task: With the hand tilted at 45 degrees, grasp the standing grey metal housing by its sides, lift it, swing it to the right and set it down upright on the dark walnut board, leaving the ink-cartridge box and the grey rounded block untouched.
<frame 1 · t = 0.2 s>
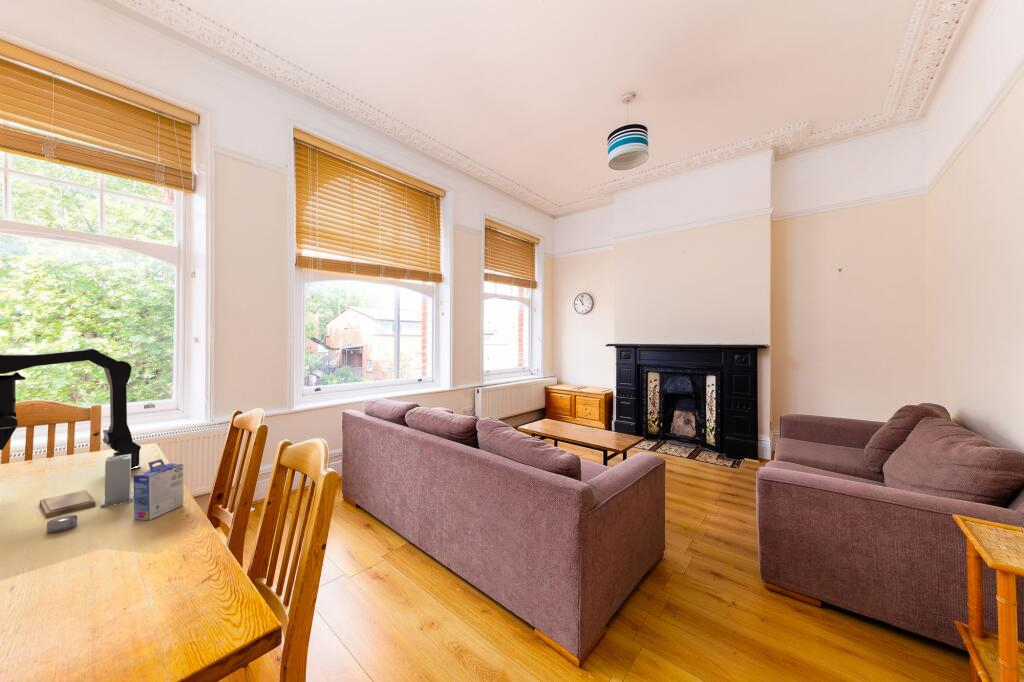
stand: (67, 504, 109), on the table
grey rounded block: (62, 529, 96), on the table
housing: (118, 500, 112), on the table
ink cartridge box: (159, 512, 107), on the table
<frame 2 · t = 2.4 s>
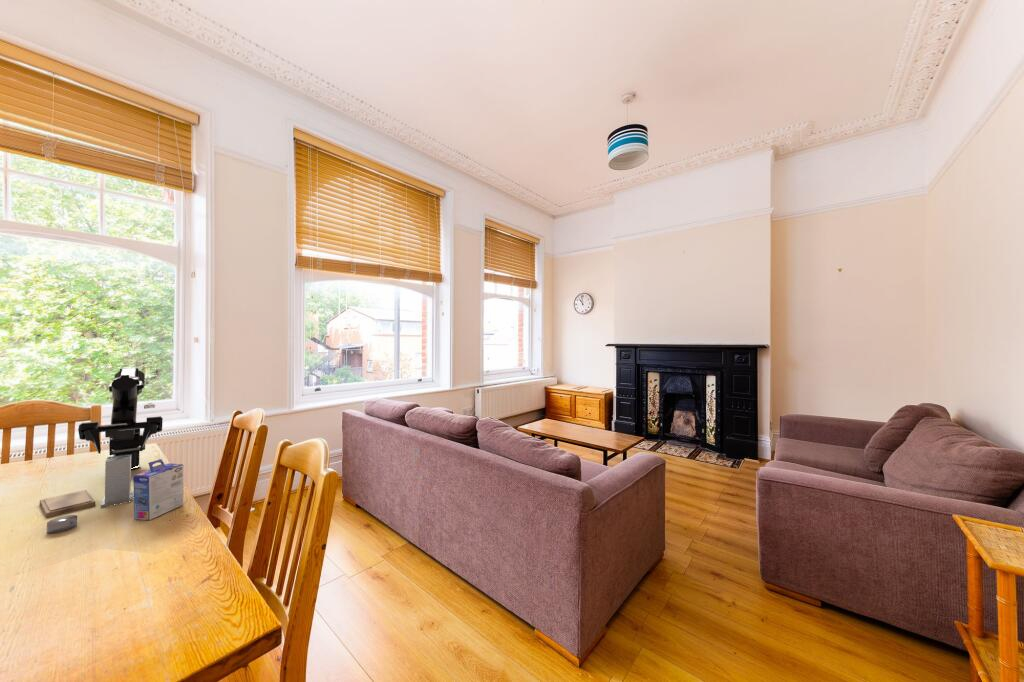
hand: (121, 450, 117), 13 cm above the table, tool tilted 45°, fingers open, 9 cm apart
nothing on the table moved.
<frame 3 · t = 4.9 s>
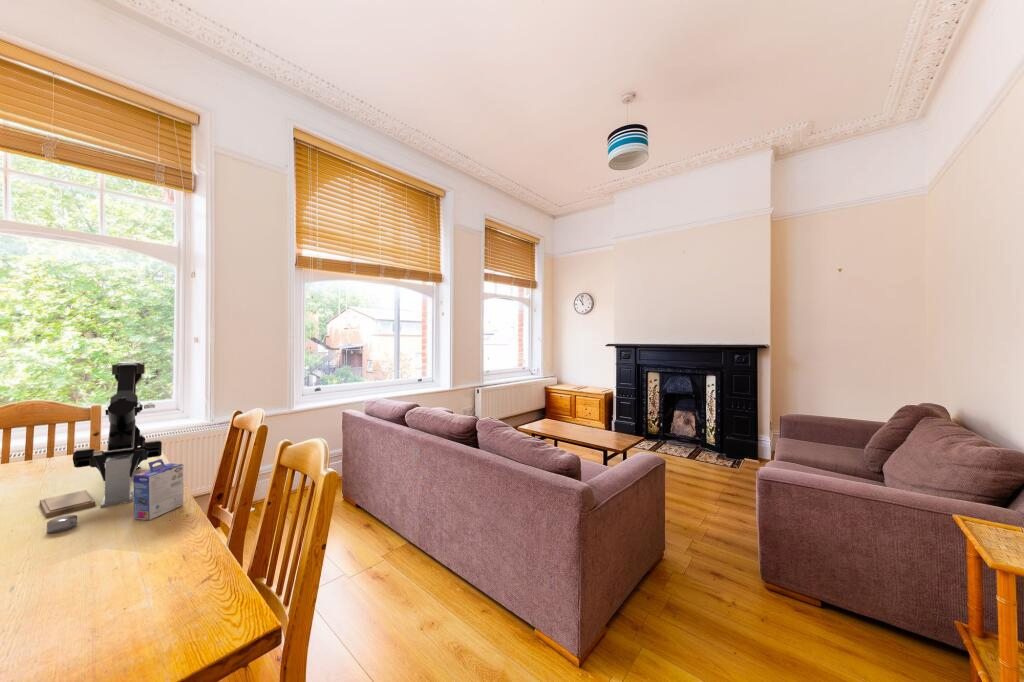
hand: (117, 478, 111), 7 cm above the table, tool tilted 45°, fingers closed on housing, 5 cm apart
housing: (118, 500, 112), on the table, touching gripper
everything else where it was.
when the fingers open (9 cm above the table, at t = 8.2 s): housing stays where it is, resting on stand.
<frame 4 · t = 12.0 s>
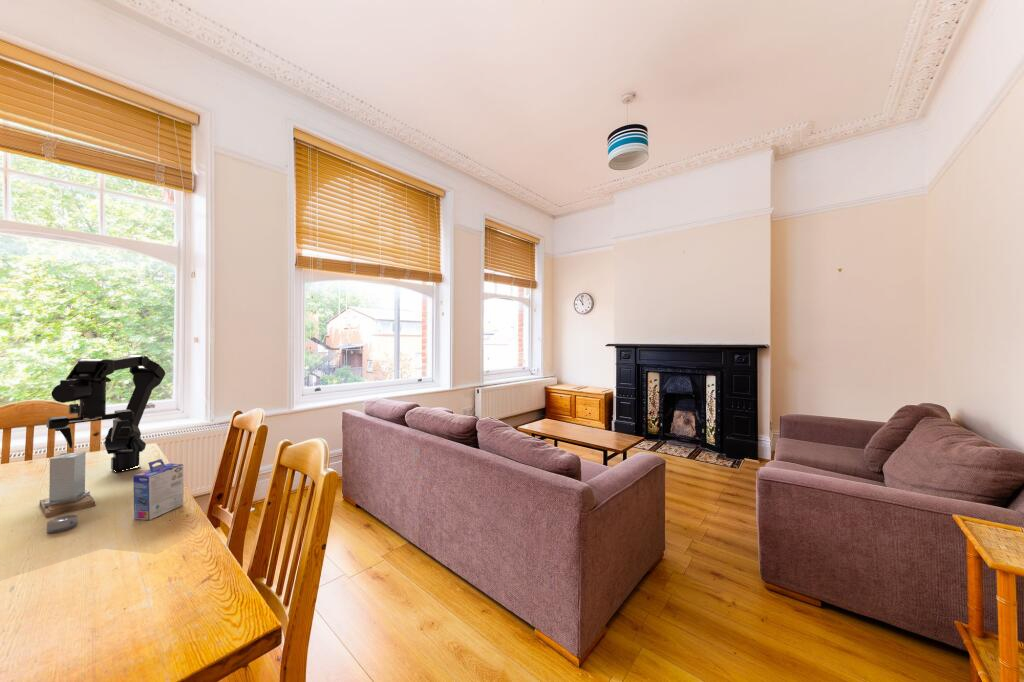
hand: (92, 444, 123), 13 cm above the table, tool pointing down, fingers open, 9 cm apart
housing: (67, 499, 109), point 1 cm above the table, touching stand
everything else where it was.
at the end: housing 0.1 cm from the stand (horizontally); housing touching stand; housing tilted 0° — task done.
